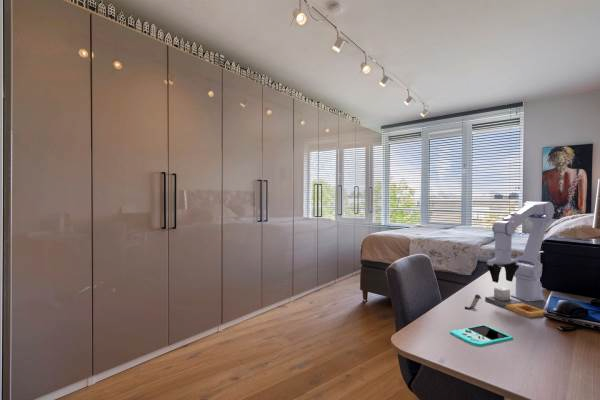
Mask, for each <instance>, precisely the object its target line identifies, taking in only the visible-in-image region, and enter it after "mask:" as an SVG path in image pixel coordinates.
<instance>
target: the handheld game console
mask: <svg viewBox="0 0 600 400" xmlns="http://www.w3.org/2000/svg"><path fill="white" fill-rule="evenodd" d="M449 334H450V335H452V336H454V337H456V338H458V339H460V340H462V341H464V342H465V343H467V344H471V345H473V346H476V347H485V346H488V345H493V344H497V343H502V342H506V341H511V340H514V336H512V335H509V334H508V333H505V332H503V331H501V330H498V329H496V328H493V327H491V326H489V325H486V324H481V325H475V326H471V327H465V328H460V329H459V328H458V329H454V330H450V331H449Z"/></svg>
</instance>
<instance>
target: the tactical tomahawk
mask: <svg viewBox="0 0 600 400" xmlns="http://www.w3.org/2000/svg"><path fill="white" fill-rule="evenodd" d="M480 297H481V295H480V294H475V295H474V298H473V300H472V302H471V304H470V306H464V309H465V310H470V311H473V312H477V311H478V309H476V308H475V306H476V305H477V303H478V301H479V300H480Z"/></svg>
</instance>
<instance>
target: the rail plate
mask: <svg viewBox="0 0 600 400" xmlns="http://www.w3.org/2000/svg"><path fill="white" fill-rule="evenodd" d="M484 301H485V302H488V303H490V304H493V305H496V306H498V307H500V308H503V309H506V310H508V311H512V312H514V313H517V314H519V315H521V316H524V317H527V318H530V319H531V318H537V317H544V316H543V313H544V312H545V311H546V310H545V309H542V308H539V307H535V306H534V305H530V304H527V303H523V302H521V301H518V300H515V299H512V298H510V301H508V302H501V301H499V300H496V299H494V295H492V296H485V297H484Z"/></svg>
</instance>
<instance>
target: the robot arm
mask: <svg viewBox="0 0 600 400" xmlns="http://www.w3.org/2000/svg"><path fill="white" fill-rule="evenodd" d="M554 214H555V206H554V204H553V203H552V202H551V201H525V202H524V203H523V204H522V207H521V209H519V210H518V211H517V212H510V213H509V215H507V216H506V217H504V218H502V219H501V220H496V221H494V222H493V224H492V226H491V229H492V233H493V238H494V257H493V258H492V259H487V261H486V268H487V269H488V271H489V273H490V275H491V281H492V282H493V283H496V284H498V283H499V280H500V272H501V270H502V268H503V267H504V271H505V280H506V282H507V281H508V282H513V280H514V278H515V293H514V294H510V297H513V298H516V299H519V300H522V301H525V302H527V303H528V302H536V301H538V302H539V301H544V300H545V299H544V298H542V291H543V290H542V286H543V285H542V282H541V281H540V279H541V277H542V273H543V263H541V261H539V259H538V256H539V253H540V250H541V246H542V244H543V240H544V237H545V236H546V235H545V234H546V230H547V228H548V225H549V223H551V222H552V221H553V218H554ZM525 219H527V220H528V222H529V221H530V222H531V223H532V225H531V229H530V232H529V234H528V238H527V241H526V245H525V247H524V250H523V254H522V255H519V256H517V257H515V258H512V241H513V240H512V237H513V236H514V234H515V233H516V230H517V228H519V227H520V226H521V225H522V224H523V223H524V221H525ZM499 265H501V266H502V265H503V267H501V266H499Z"/></svg>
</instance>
